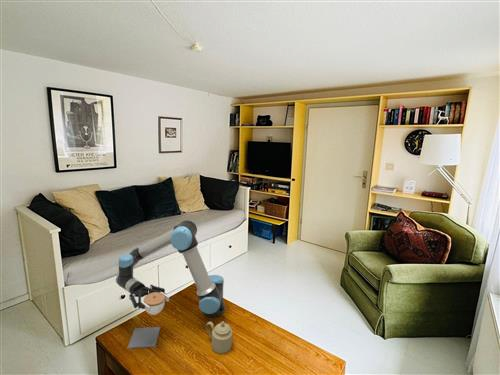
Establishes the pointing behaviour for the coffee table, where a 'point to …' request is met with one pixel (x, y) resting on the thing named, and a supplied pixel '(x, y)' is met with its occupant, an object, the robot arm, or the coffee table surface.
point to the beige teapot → (220, 337)
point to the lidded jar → (155, 302)
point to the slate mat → (144, 337)
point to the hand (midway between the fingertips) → (159, 304)
